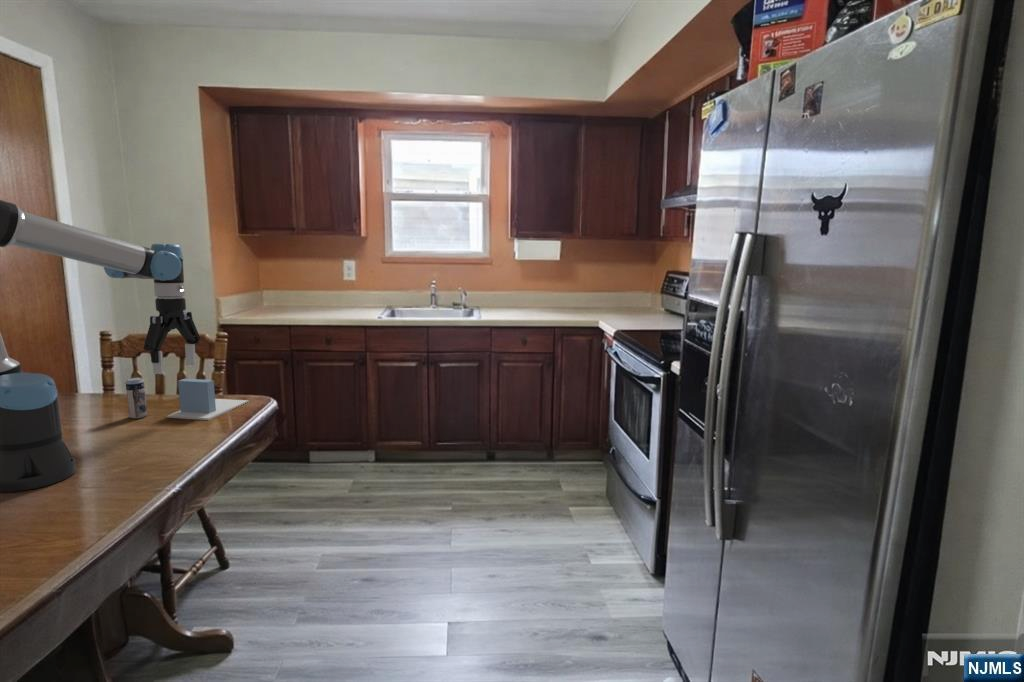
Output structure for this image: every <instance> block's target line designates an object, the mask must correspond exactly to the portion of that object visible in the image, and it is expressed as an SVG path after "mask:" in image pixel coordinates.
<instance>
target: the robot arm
mask: <svg viewBox="0 0 1024 682" xmlns="http://www.w3.org/2000/svg"><path fill="white" fill-rule="evenodd" d="M9 246H15V247H19V248H24V249H27V250H28V249H29V250H32V251H35V252H36V251H37V252H40V253H45V254H48V255H53V256H58V257H60V258H66V259H70V260H74V261H78V262H82V263H87V264H90V265H93V266H99V267H103V270H104V272H105V274H106V275H107V276H108V277H109V278H112V279H121V280H123V279H143V280H153V287H154V288H153V290H154V291H153V292H154V296H155V299H154V300H155V301H154V303H155V311H156V312H158V313H159V315H154V316H153V315H151V316H149V327H148V330H147V335H146V337H145V342H144V344H143V350H144V351H147V352H150V359H151V360H150V361H151V363H152V373H153V374H154V375H155V374H156V375H163V374H164V373H165V369H164V357H163V351H162V350H161V349H162V346H163V344H164V342H165V340H166V337H167V336H168V334H169V333H170V332H171V331H172V330H173V331H174V330H175V329H176V330H177V331H178V332H179V334H180V335H181V337H182V338H183V339H184V340H185V343H184V350H185V351H184V353H185V363H186V364H185V365H186V366H196V365H197V358H196V353H197V352H196V345H198V344H199V343H200V341H201V336H200V334H199V332H198V329H197V327H196V325H195V322H194V320H193V315H192V314H193V313H192V311H186V309H187V306H186V305H187V302H186V298H185V296H186V294H185V291H186V290H185V277H184V276H185V275H184V262H183V261H184V258H183V257H184V256H183V252H182V251H183V249H182V247H181V246H180V245H179V244H175V243H174V244H172V243H169V244H168V243H152V244H151V247H146V246H142V245H139V244H136V243H133V242H129V241H125V240H122V239H120V238H119V239H118V238H115V237H113V236H112V237H111V236H109V235H105V234H103V233H102V234H101V233H99V232H95V231H91V230H87V229H84V228H81V227H78V226H74V225H70V224H68V223H64V222H60V221H57V220H54V219H50V218H47V217H43V216H40V215H37V214H32V213H29V212H26V211H22V210H21V208H20V207H19V206H18V205H17V204H16V203H12V202H9V201H6V200H3V199H0V248H6V247H9ZM55 382H56V381H54V379H53V378H52V377H51V376H49V375H47V374H43V373H37V372H36V373H35V372H34V373H31V372H23V370H22V366H21V363H20V362H19V361H18V360H16V359H13V358H11V357H10V356H9V354H8V351H7V348H6V345H5V342H4V339H3V336H2V333H1V331H0V493H12V492H21V491H28V490H33V489H39V488H42V487H47V486H49V485H53V484H56V483H59V482H61V481H64V480H65V479H66V480H67V478H70V477H71V476H73V475H74V474H75V473H76V472H77V466H76V460H75V458H74V457H73V455H72V454H71V451H70V450H69V448H68V446H67V445H66V443H65V441H64V438H63V432H62V424H61V416H60V410H59V409H60V408H59V398H58V397H59V396H58V392H59V391H58V388H57V387H56V383H55Z"/></svg>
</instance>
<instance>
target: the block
mask: <svg viewBox="0 0 1024 682" xmlns="http://www.w3.org/2000/svg"><path fill="white" fill-rule="evenodd" d="M177 389H178V396H179V398H178V400H179V411H181V412H193V413H209V414H210V413H212V412H214V411H216V405H215V399H216V395H215V380H213V379H201V378H199V379H198V378H197V379H196V378H183V379H180V380H177Z"/></svg>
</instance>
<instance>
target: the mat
mask: <svg viewBox="0 0 1024 682" xmlns="http://www.w3.org/2000/svg"><path fill="white" fill-rule="evenodd" d="M247 402H248V403H249V402H250V401H249V400H247V399H246V400H245V399H244V400H243V399H229V398H228V399H227V398H215V405H216V411H214V412H212V413H210V414H209V413H193V412H181V411H180V410H179V411H176V412H172V413H170V414H168V415H167V416H166V417H167V418H168V419H169V418H171V419H172V418H173V419H182V420H185V419H186V420H200V421H211V420H213V419H214V418H217V417H219V416H222V415H224V414H226V413H228V412H230V411H232V409H233V410H234V408H235V409H237V408H239V407H242V406H243V404H244V405H246V404H248V403H247ZM245 403H246V404H245ZM241 405H242V406H241ZM238 406H239V407H238ZM236 407H237V408H236Z"/></svg>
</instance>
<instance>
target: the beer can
mask: <svg viewBox="0 0 1024 682" xmlns="http://www.w3.org/2000/svg"><path fill="white" fill-rule="evenodd" d="M125 389H126V399H127V408H128V418H130V419H132V420H133V419H135V420H136V419H142V418H145V417H147V415H148V408H147V400H146V399H147V398H146V390H145V380H144V379H143V378H142V377H130V378H127V379H126V381H125Z"/></svg>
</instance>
